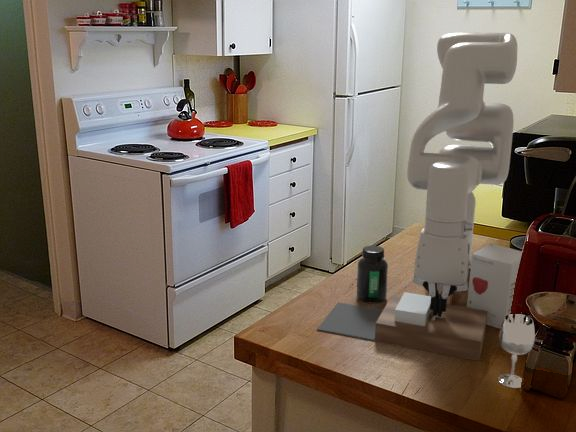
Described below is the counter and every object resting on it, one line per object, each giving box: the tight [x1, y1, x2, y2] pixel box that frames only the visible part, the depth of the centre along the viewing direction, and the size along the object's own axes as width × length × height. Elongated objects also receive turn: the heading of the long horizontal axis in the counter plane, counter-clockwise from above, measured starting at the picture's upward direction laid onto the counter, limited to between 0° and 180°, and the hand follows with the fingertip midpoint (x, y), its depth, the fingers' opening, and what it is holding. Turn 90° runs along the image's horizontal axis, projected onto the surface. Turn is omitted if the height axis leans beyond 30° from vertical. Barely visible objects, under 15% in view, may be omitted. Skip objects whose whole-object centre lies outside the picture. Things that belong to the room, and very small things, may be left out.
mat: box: [316, 301, 384, 342], centre depth 130 cm, size 14×12×1 cm
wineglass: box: [497, 313, 536, 389], centre depth 106 cm, size 6×6×12 cm
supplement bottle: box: [356, 245, 389, 304], centre depth 140 cm, size 7×7×12 cm
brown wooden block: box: [374, 295, 488, 362], centre depth 124 cm, size 14×20×4 cm
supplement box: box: [466, 243, 523, 330], centre depth 130 cm, size 9×9×15 cm
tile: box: [394, 291, 431, 326], centre depth 124 cm, size 9×6×2 cm, turn 158°
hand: (437, 313), depth 122 cm, fingers closed
